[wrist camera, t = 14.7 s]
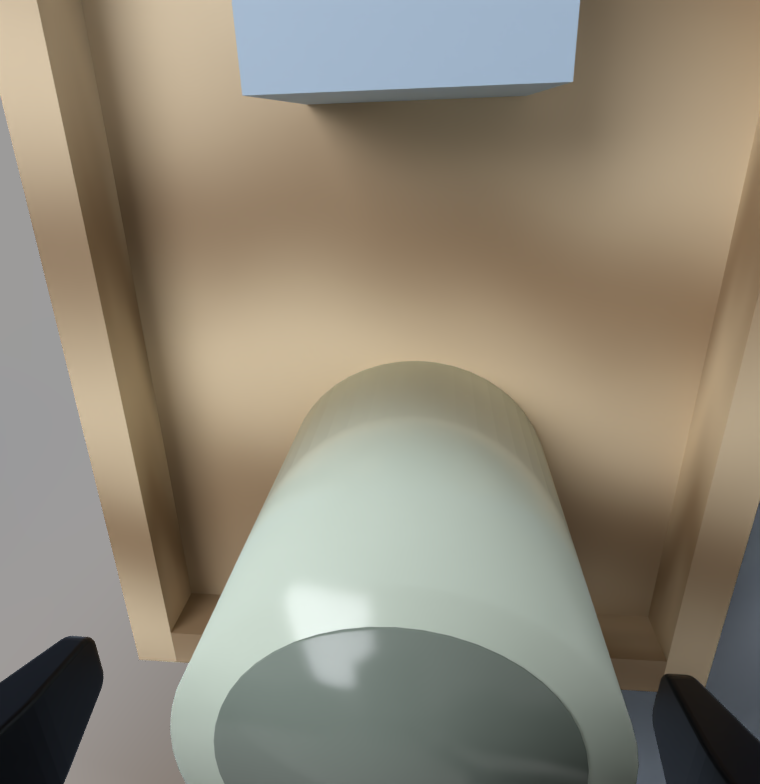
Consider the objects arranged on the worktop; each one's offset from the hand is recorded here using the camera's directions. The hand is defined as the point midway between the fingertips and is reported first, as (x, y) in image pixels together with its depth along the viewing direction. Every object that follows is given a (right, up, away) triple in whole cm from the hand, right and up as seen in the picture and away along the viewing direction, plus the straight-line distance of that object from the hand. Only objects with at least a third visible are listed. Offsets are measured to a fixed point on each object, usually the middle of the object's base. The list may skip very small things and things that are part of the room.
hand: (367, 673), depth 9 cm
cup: (+1, +2, +5) cm, 5 cm away
